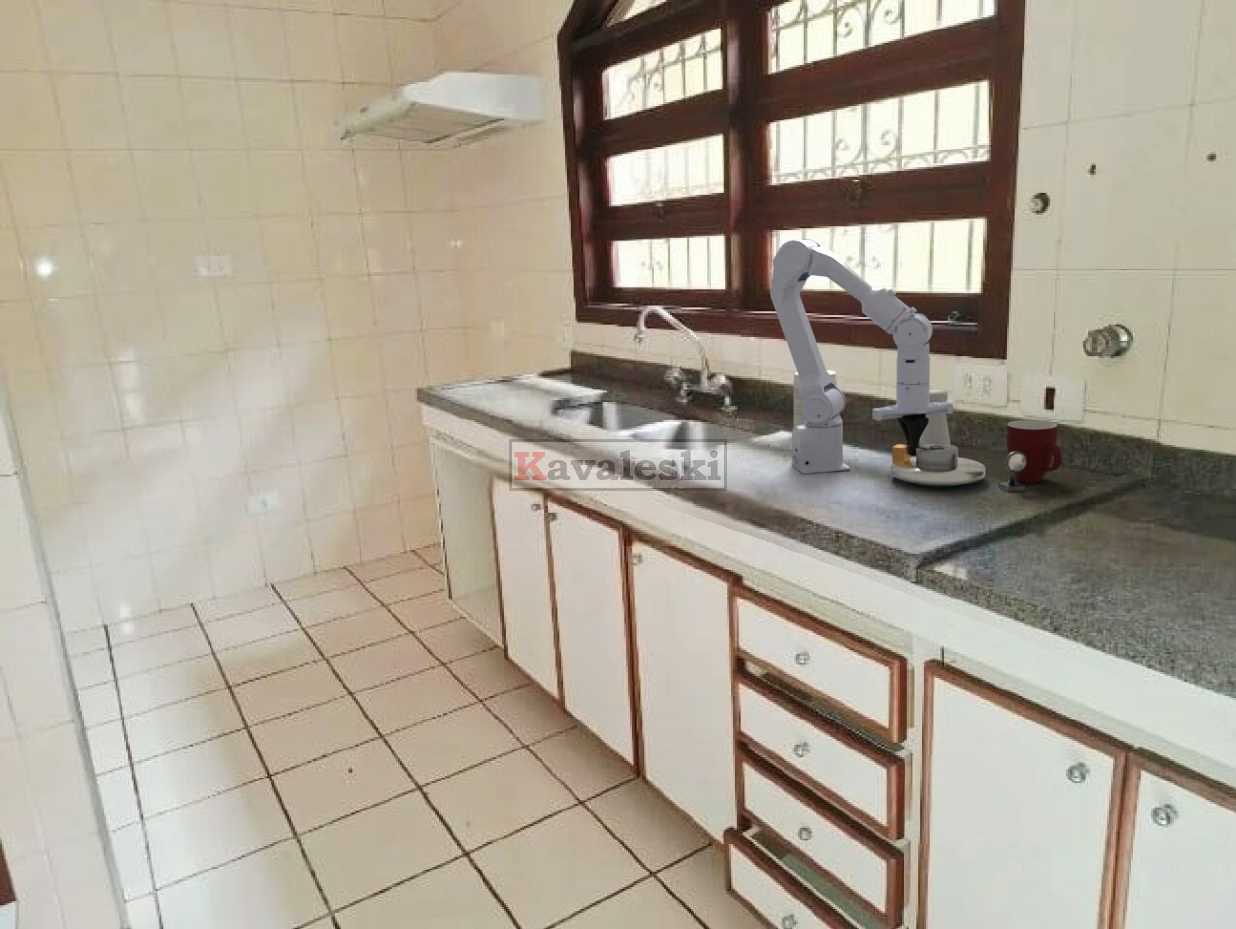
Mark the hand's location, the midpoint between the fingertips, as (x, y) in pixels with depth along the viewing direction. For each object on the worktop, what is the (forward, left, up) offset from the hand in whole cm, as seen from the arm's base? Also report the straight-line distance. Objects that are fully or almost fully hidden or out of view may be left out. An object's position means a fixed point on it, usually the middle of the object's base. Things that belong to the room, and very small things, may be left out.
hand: (912, 454), depth 156 cm
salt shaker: (+10, +12, -4) cm, 17 cm away
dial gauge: (+11, -15, -4) cm, 19 cm away
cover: (+2, -6, -1) cm, 6 cm away
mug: (+17, -12, -4) cm, 21 cm away
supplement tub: (-7, +36, -4) cm, 37 cm away
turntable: (+2, -6, -2) cm, 6 cm away
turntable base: (+2, -6, -4) cm, 7 cm away
